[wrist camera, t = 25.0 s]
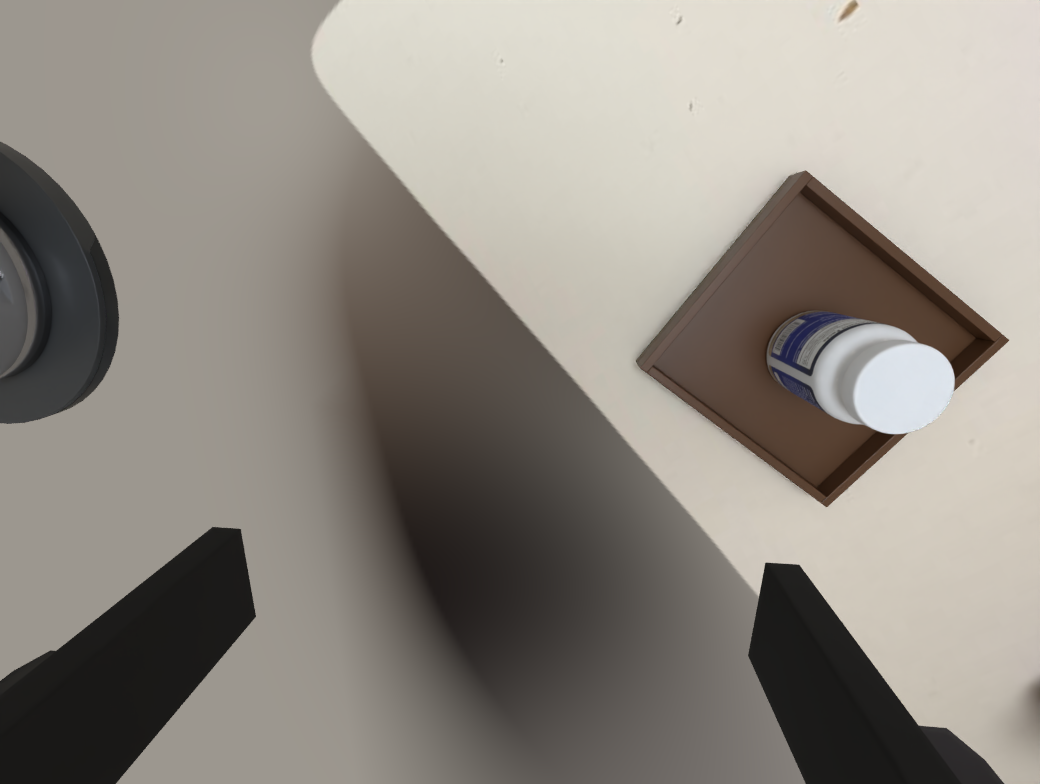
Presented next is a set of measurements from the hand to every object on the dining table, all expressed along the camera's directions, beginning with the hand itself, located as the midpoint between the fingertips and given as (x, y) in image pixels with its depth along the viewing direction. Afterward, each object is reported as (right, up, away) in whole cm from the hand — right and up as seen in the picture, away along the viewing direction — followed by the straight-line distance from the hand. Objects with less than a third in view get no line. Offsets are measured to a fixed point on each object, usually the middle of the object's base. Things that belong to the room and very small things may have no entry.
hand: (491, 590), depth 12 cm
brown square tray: (+21, +8, +22) cm, 31 cm away
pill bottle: (+21, +8, +21) cm, 31 cm away
